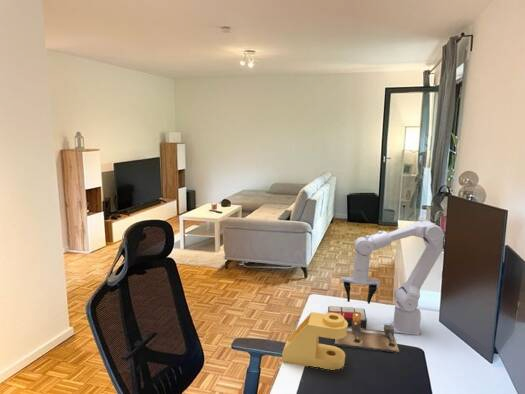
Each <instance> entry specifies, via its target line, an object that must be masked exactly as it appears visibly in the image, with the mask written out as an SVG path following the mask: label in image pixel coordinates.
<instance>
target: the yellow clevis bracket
mask: <svg viewBox="0 0 525 394" xmlns="http://www.w3.org/2000/svg"><path fill="white" fill-rule="evenodd" d="M347 328H348V322H347V321H346V320H345V319H344V317H343V316H342V315H340V314H338V313H328V312H325V313H321V312H315V311H311V312H310V313H309V314H308V315H307V316H306V317H305V319H304V320H303V321H302V322H301V323H300V324H299V325H298V326H297V327H296V329H294V331H293V332H292V333H291V334H290V335H289V336H288V337H287V340H286V342H285V345H284V347H283V350H282V355H281V362H283V363H287V364H293V365H298V366H303V367H308V366H313V367H320V368H324V369H330V370H335V369H340V368H342V367H343V366H344V367H345V365H344V364H345V361H346V353H345V351H344V350H343V349H341V347H337V346H335V345H329V344H324V343H319V340H320V339H319V338H325V339H332V340H334V339H341V338H344V337H346V335H347ZM313 367H312V368H313ZM344 367H343V368H344ZM343 368H342V369H343ZM324 369H323V370H324Z"/></svg>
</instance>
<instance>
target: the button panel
mask: <svg viewBox="0 0 525 394" xmlns="http://www.w3.org/2000/svg"><path fill="white" fill-rule="evenodd" d="M353 312H359V313H361V323H360V325H361V328H362V329H368V328H367V327H368V320H367V315H366V309H365V308H364V307H362V308H361V307H353V306H339V305H329V306H328V308H327V313H338V314H340V315H342V316H343V317H344V319H345V320H346V321H347V322H348V327H351V324H352V319H353Z"/></svg>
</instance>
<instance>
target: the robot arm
mask: <svg viewBox="0 0 525 394" xmlns="http://www.w3.org/2000/svg"><path fill="white" fill-rule="evenodd" d="M413 236H414V237H416V238H421V239H423V242H424V245H425V249H424V250H423V252H422V254H421V256H420V258H419V259H418V261H417V263H416V264H415V266H414V268H413V270H412V272H411V273H410V275H409V277H408V278H407V280H406V281H405V282H403V283H401V285H400V286H399V287H398V288H397V289H396V290H395V291H394V293H393V297H394V298H395V300H396V303H395V304H394V314H393V321H390V325H393V328H394V334H395V333H396V334H405V335H412V336H413V335H414V336H420V328H421V319H422V316H421V309H419V308H418V306H419V299H420V298H421V291H420V290H421V288H422V286H423V285H424V283H425V281H426V279H427V278H428V276H429V274H430V272H431V270H433V268H434V266H435V264H436V262H437V260H438V259H439V257H440V255H441V253H442V252H443V249H444V237H445V234H444V231H443V229H442V227H440V226H439V225H437V224H435V223H433V222H432V221H431V220H429V219H421V220H419V221H414V222H412V223H411V224H408V225H406V226H404V227H401V228H398V229H396V230H395V229H394V230H392V231H390V232H387V231H386V230H383V231H382V230H378V231H377V233H374V234H371V235H368V234H367V235H365V237H364V236H359V237H358V238H356V239H355V241H354V243H353V247H354V249H355V251H354V257H353V258H354V259H353V260H354V261H353V271H352V276H341V277H340V284H343V287H344V290H345V292H346V296H347V297H346V299H347V300H346V301H347V302H348V303H350V299H351V296H350V294H351V284H354V285H363V286H368V290H367V291H368V292H367V293H368V294H367V299H366V301H367V304H371V300H372V298H373V297H374V295H375V293H376V292H377V291H378V290H377V289H378V288H379V287H380V286H381V285H380V284H381V282H380V280H379V279H374V278H369V273H370V261H371V257H370V256H371V254H372V252H373V251H376V250H379V249H383V248H386V247H389V246H390V245H391V243H392V242H394V241H397V240H401V239H405V238H409V237H413Z"/></svg>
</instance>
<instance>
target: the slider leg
mask: <svg viewBox="0 0 525 394" xmlns="http://www.w3.org/2000/svg"><path fill="white" fill-rule="evenodd" d="M360 323H361V313H359V312H353V319H352V324H351V328H352V332H355V336H356V341H358V338H359V332H360V330H361V325H360Z"/></svg>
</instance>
